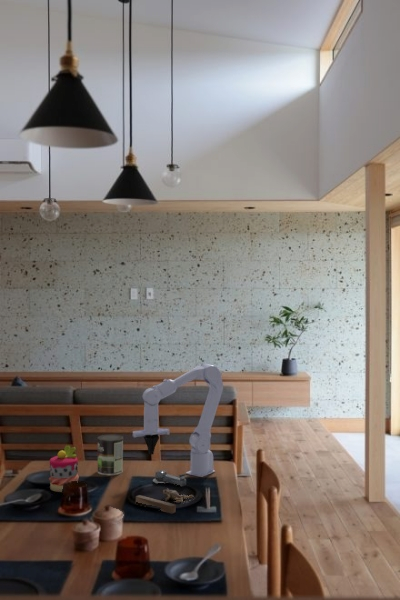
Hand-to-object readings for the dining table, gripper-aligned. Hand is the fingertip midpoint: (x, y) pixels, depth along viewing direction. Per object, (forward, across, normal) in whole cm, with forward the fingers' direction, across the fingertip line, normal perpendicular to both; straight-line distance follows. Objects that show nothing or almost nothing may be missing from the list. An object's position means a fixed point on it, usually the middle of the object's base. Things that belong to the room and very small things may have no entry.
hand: (151, 453), depth 259 cm
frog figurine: (+10, +1, -27) cm, 29 cm away
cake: (+10, -34, -1) cm, 35 cm away
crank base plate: (+9, +2, -6) cm, 11 cm away
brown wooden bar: (+9, -8, -33) cm, 35 cm away
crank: (+9, +5, -10) cm, 14 cm away
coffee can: (+10, -13, +13) cm, 21 cm away
